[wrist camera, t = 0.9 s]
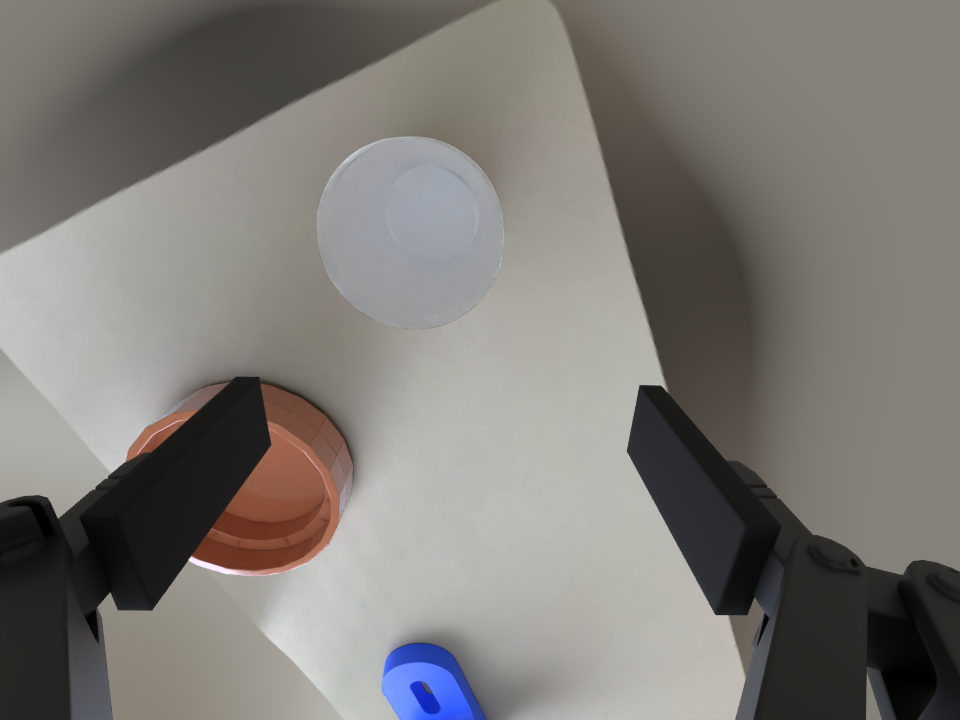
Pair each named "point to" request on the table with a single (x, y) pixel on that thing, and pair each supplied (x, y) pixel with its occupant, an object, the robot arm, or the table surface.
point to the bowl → (272, 487)
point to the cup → (410, 232)
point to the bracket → (423, 716)
